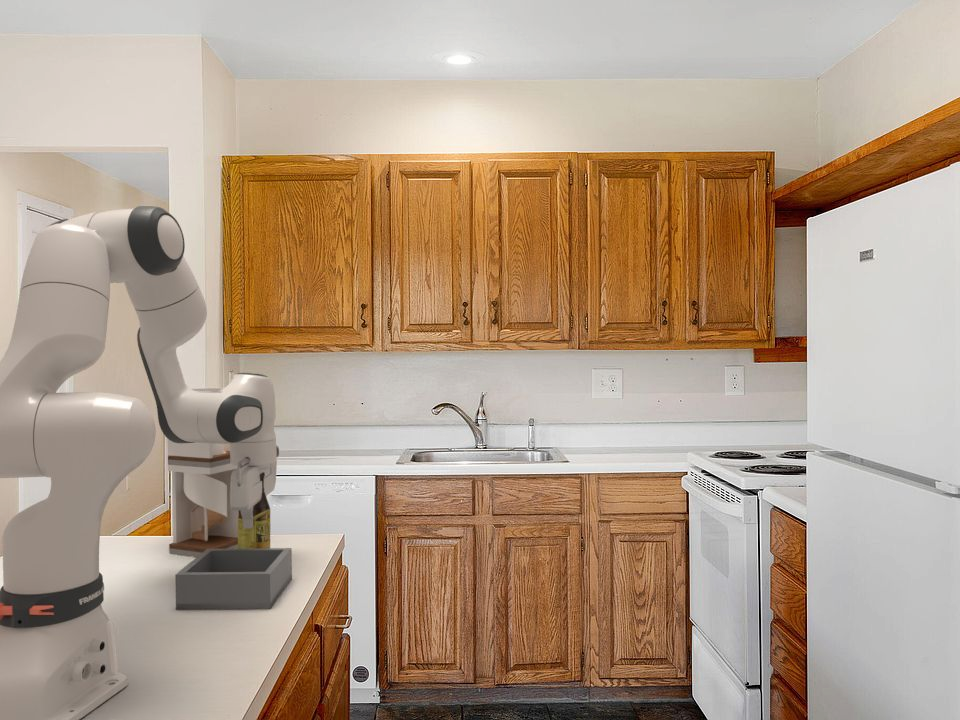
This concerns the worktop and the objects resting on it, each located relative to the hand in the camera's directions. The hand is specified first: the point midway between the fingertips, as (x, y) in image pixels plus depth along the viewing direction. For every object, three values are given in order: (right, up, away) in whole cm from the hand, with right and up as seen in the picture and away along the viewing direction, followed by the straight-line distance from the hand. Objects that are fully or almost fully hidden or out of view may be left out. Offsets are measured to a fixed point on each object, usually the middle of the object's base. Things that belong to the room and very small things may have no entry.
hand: (254, 523), depth 154 cm
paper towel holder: (-14, -9, +14) cm, 22 cm away
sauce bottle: (0, -9, 0) cm, 9 cm away
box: (+1, -10, -15) cm, 18 cm away
